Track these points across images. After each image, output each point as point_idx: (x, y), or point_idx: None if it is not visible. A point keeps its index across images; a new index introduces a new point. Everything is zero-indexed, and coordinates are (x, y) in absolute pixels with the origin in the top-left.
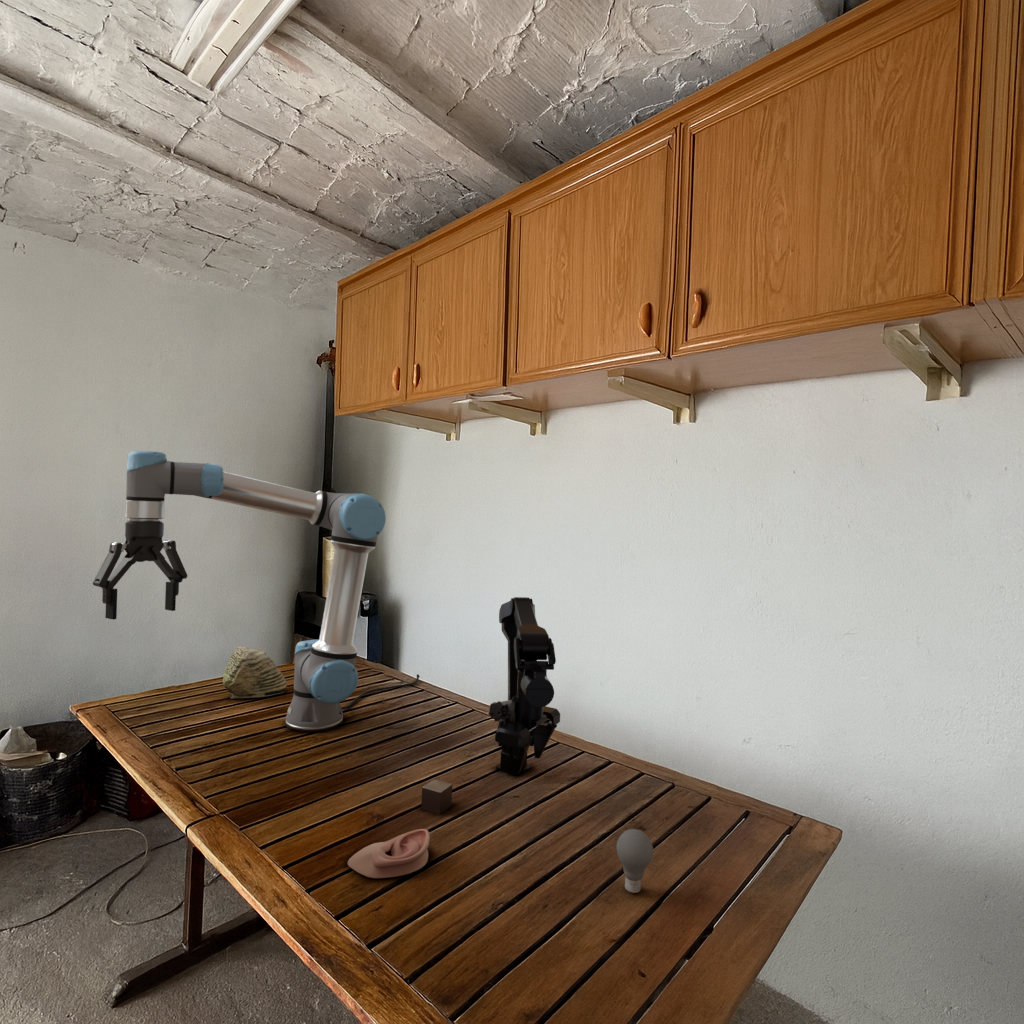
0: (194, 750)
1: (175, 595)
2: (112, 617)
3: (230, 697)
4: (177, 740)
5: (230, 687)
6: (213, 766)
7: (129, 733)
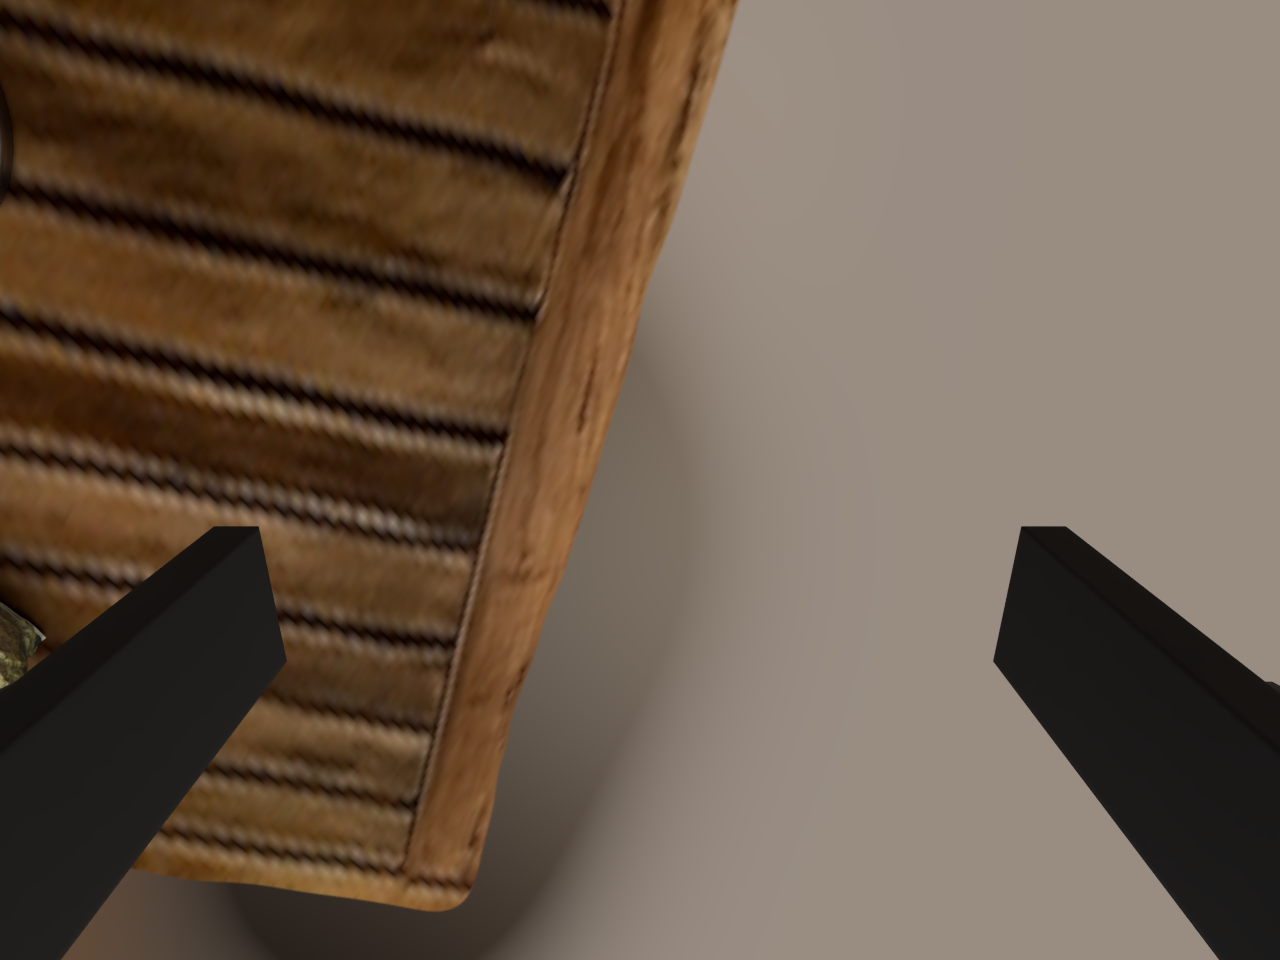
0: (420, 286)
1: (65, 649)
2: (1078, 545)
3: (41, 639)
4: (409, 424)
5: (14, 651)
6: (461, 75)
7: (481, 607)
